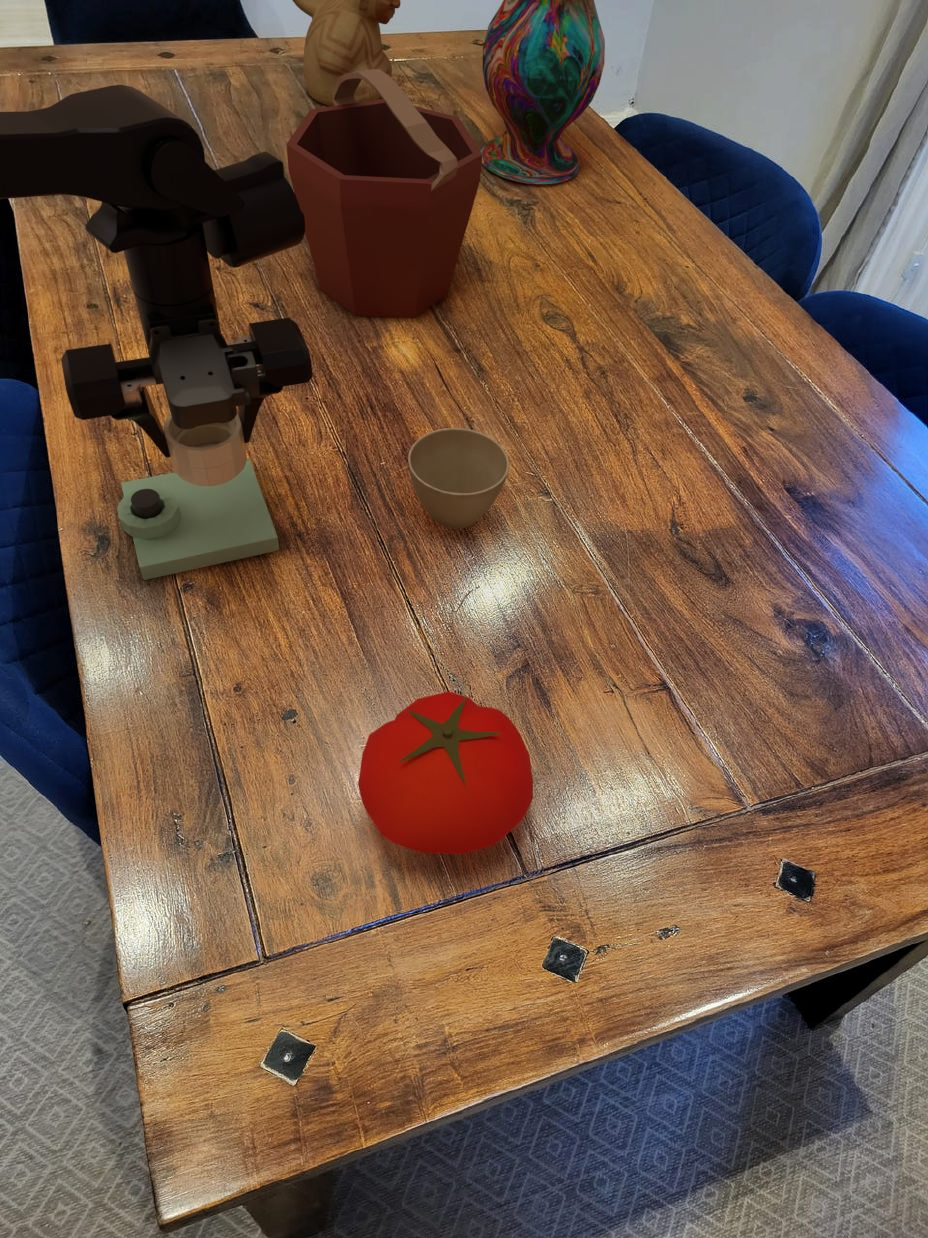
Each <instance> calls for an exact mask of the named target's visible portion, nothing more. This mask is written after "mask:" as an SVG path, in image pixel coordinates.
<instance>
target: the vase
mask: <svg viewBox="0 0 928 1238" xmlns="http://www.w3.org/2000/svg"><path fill="white" fill-rule="evenodd" d="M605 50H606V40H605V35H604V32H603V29H602V26H601V22H600V19H599V15H598V11H597V7H596V2H595V0H502V2H501V4H500V5H499V7H498V9H497V10H496V11H495V14H494V16H493V17H492V18H491V20H490V22H489V23H488V26H487V30H486V35H485V38H484V42H483V47H482V74H483V80H484V87H485V90H486V92H487V94H488V97H489V99H490V102H491V104H492V106H493V107H494V109H495V110H496V112H497V113H498V114H499V116H500V118H501V119H502V121H503V123H504V127H505V129H506V130H505V131H504V132H503V133H502V134H501V135H499V136H497V137H495V138H493V139H491V140H490V141H488V142H487V143H486V144H485V145H484V146H483V147H482V148H481V150H480V151H481V153H482V165H483V166H484V167H485V168H486V169H487V170H488V171H490V172H491V173H493V174H495V175H497V176H498V177H502V178H504V179H507V180H510V181H514V182H518V183H522V184H523V183H524V184H531V185H551V184H558V183H562V182H566V181H568V180H570V179H572V178H574V177H575V176H576V175H578V174H579V172H580V170H581V167H582V166H581V165H582V164H581V161H580V159H579V158H578V156H577V154H576V153H575V151H574V150H573V149H572V148H571V147H570V146H568V145H567V144H566V143H565V142H564V140H563V138H562V135H563V133H564V132H565V131H566V130H567V128H568V127H570V125H571V124H573V123H574V122H575V121H576V120H578V119H579V118H580V117H581V116H582V114H584V112H585V111H586V109H587V108H588V107H589V106H590V104H591V103H592V102H593V100H594V97H595V96H596V93H597V90H598V89H599V86H600V83H601V78H602V75H603V71H604V69H605V68H604V67H605V56H606V55H605V54H606V51H605Z"/></svg>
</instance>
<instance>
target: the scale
mask: <svg viewBox="0 0 928 1238" xmlns="http://www.w3.org/2000/svg"><path fill="white" fill-rule="evenodd" d="M120 485H121V490H122V494H123V497H121V498H122V499H121V500H120V502H119V503H118V505H117V507H116V510H117V515H118V519H119V523H120V526H121V529H122V530H123V531H124V532H125V533H127V535H129V536H131V537H132V540H133V544H134V550H135V553H136V558H137V563H138V567H139V570H140V573H141V576H142V580H143V581H148V580H152V579H157V578H161V577H166V576H170V575H174V574H179V573H183V572H188V571H193V570H197V569H201V568H202V569H203V568H206V567H210V566H214V565H215V566H216V565H219V564H223V563H229V562H233V561H238V560H242V559H245V558H246V559H247V558H251V557H255V556H260V555H265V554H269V553H273V552H278V551H280V544H279V536H278V534H277V531H276V529H275V525H274V523H273V520H272V517H271V514H270V510H269V508H268V505H267V503H266V500H265V498H264V495H263V492H262V488H261V486H260V483H259V481H258V478H257V475H256V471H255V469H254V466H253V463H252V461H251V458H248V457H247V460H246V464H245V467H244V469H243V470H242V471H241V472H240V473H239V474H238V475H237V476H236V477H235V478H233V479H232V480H230V481H228V482H226V483H223V484H220V485H216V486H199V485H195V484H192V483H189V482H187V481H184V480H183V479H181V478H180V477H179V476H178V475H177V474H176V473H175V472H174V471H173V472H170V473H169V472H168V473H163V474H158V475H153V476H148V477H143V478H142V477H141V478H138V479H133V480H128V481H127V480H126V481H121V482H120ZM141 489H152V490H155V491H156V492H157V493H158V494H159V497H160V500H161V504H162V511H161V513H160V514H159V515H158V516H156V517H154V518H149V519H142V518H139V517H137V516H136V515H135V513H134V510H133V506H132V503H131V497H132V495H133V494H134V493H135V492H136V491H138V490H141Z"/></svg>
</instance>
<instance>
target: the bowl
mask: <svg viewBox="0 0 928 1238" xmlns="http://www.w3.org/2000/svg"><path fill="white" fill-rule="evenodd" d="M162 428H163V430H164V433H165V437H166V441H167V445H168V448H169V453H170V457H169V458H170V461H171V464H172V469H173V473H174V472H175V473H176V474H177V475H178V476H179V477H180V478H181V479H183V480H184V481H187V482H189V483H192V484H195V485H199V486H216V485H220V484H223V483H226V482H228V481H230V480H232V479H233V478H235V477H236V476H237V475H238V474H239V473H240V472H241V471H242V470H243V469H244V467H245V464H246V460H247V459H248V455H247V450H246V443H245V442H244V437H243V430H242V424H241V421H240V418H239V415H238V413H237V414H236V417H235V418H234V419H233V420H232V421H230V422H227V423H213V424H207V425H202V426H197V427H195V428H193V429H181V428H179V427H177V426H176V425H175V424H174V422H173V420H172V416H171V414H169V415H168V416H167V417H166V419H165V422H164V425H163V426H162Z"/></svg>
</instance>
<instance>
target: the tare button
mask: <svg viewBox="0 0 928 1238" xmlns="http://www.w3.org/2000/svg"><path fill="white" fill-rule="evenodd" d="M131 503H132V506H133V510H134V513H135V515H136V516H137V517H139V518H142V519H149V518H154V517H156V516H158V515H159V514H160V513H161V511H162V504H161V500H160V497H159V494H158V493H157V492H156V491H155V490H152V489H141V490H138V491H136V492H135V493H134V494H133V495H132V497H131Z"/></svg>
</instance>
